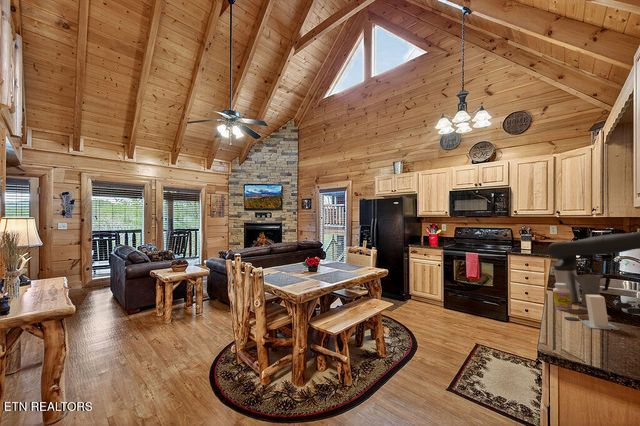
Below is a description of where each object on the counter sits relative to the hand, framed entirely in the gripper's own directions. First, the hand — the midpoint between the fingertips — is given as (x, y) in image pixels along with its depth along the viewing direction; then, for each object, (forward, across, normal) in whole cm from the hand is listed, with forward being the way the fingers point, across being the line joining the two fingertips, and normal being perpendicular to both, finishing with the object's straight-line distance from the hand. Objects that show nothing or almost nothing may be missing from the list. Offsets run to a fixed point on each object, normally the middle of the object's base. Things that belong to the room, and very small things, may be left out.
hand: (621, 308), depth 113 cm
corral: (+6, -14, +8) cm, 17 cm away
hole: (+15, -8, +8) cm, 18 cm away
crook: (+3, -24, +8) cm, 25 cm away
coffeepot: (-4, -35, +8) cm, 36 cm away
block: (+8, 0, +7) cm, 11 cm away
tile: (+8, 0, +8) cm, 11 cm away
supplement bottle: (+12, -25, +8) cm, 29 cm away
